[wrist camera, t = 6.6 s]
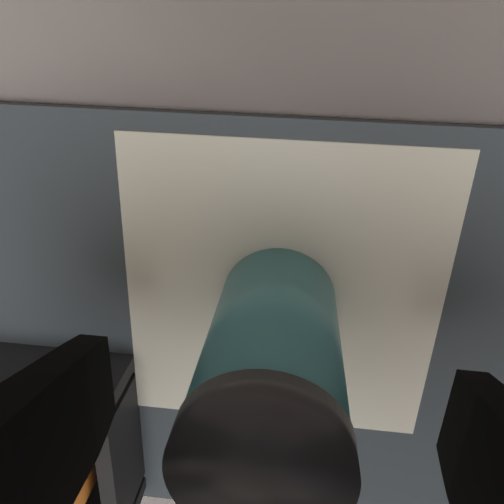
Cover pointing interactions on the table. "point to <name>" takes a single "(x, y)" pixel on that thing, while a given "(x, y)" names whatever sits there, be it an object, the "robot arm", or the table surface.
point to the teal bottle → (267, 394)
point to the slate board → (243, 244)
